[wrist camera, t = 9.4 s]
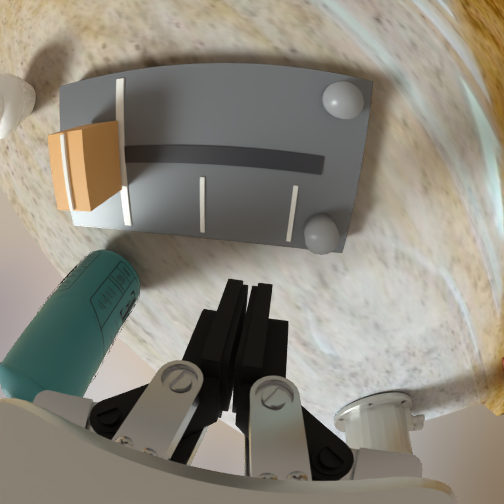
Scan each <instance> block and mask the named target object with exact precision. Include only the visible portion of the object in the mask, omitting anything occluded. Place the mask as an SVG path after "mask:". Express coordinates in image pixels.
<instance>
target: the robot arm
mask: <svg viewBox="0 0 504 504" xmlns="http://www.w3.org/2000/svg"><path fill="white" fill-rule="evenodd" d="M272 286H273V285H272V284H264V283H258V286H252V289H251V294H250V298H249V303H248V307H247V294H248V285H243V281H242V280H234V279H228V282H227V284H226V287H225V290H224V293H223V295H222V298H221V301H220V304H219V306H218V309H217V311H213V310H207V309H204V310H203V311H202V313H201V315H200V318H199V320H198V322H197V325H196V327H195V330H194V332H193V334H192V337H191V339H190V342H189V344H188V347H187V349H186V351H185V354H184V356H183V359H182V360H176V361H172V362H168V363H167V364H165V365H163V366H162V367H161V368H160V369H159V370H158V372H157V373H156V375H155V376H154V378H153V379H152V381H151V382H150V383H149V384H146V385H144V386H141V387H139V388H136V389H133V390H130V391H128V392H125V393H122V394H119V395H117V396H114V397H111V398H108V399H105V400H102V401H101V402H98V403H97V402H93V400H92V399H87V398H82V397H77V396H72V395H68V394H63V393H59V392H55V391H51V390H45V391H42V392H40V393H39V394H37V395H36V397H35V399H34V401H33V403H31V402H28V401H25V400H21V399H16V398H0V504H459V502H458V499H457V496H456V495H455V493H454V491H453V490H452V489H451V487H449V486H448V485H446V484H444V483H442V482H439V481H436V480H432V479H428V478H422V463H421V462H420V460H419V458H417V457H416V456H415V455H413V453H412V447H411V441H410V436H409V431H415V430H420V429H422V428H423V422H424V420H425V416H424V415H423V414H421V415H416V416H413V415H411V410H412V408H413V402H412V398H411V397H410V396H409V395H407V394H404V393H397V392H392V393H383V394H377V395H373V396H369V397H366V398H363V399H360V400H358V401H355V402H353V403H351V404H349V405H347V406H346V407H344V408H343V409H341V410H340V411H339V412H338V413H337V414H336V416H335V418H334V425H335V427H336V428H337V429H338V430H340V431H342V432H345V435H346V443H344V442H343V441H342V440H341V439H340V438H338V437H337V436H336V435H335V434H334V433H332V432H331V431H330V430H329V429H328V428H327V427H325V426H324V425H323V424H322V423H321V422H320V421H319V420H317V419H316V418H315V417H314V416H313V415H312V414H311V413H309V412H308V411H307V410H306V409H305V408H304V407H303V406H302V405H301V401H300V395H299V392H298V389H297V387H296V386H295V385H294V383H293V382H291V381H290V380H288V379H286V363H287V344H288V321H284V320H276V319H269V311H270V303H271V294H272ZM246 307H247V312H246ZM232 391H233V409H232V412H234V413H236V424H235V425H236V426H237V427H238V428H239V429H240V430H241V431H242V433H243V434H244V475H245V476H239V475H232V474H226V473H220V472H216V471H211V470H206V469H201V468H197V467H192V466H190V464H191V463H192V461H193V459H194V456H195V454H196V452H197V450H198V448H199V446H200V444H201V442H202V439H203V437H204V435H205V433H206V431H207V428H208V426H209V425H211V424H213V423H214V422H216V421H217V419H218V418H221V415H222V411H228V409H229V405H230V400H231V396H232Z"/></svg>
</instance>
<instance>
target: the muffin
mask: <svg viewBox="0 0 504 504" xmlns="http://www.w3.org/2000/svg"><path fill="white" fill-rule="evenodd" d="M35 99H36V95H35V90H34V88H33V87H32V86H31V85H30V84H28V83H27V82H26V81H24V80H23V79H21V78H20V77H18V76H15V75H12V74H9V73H6V74H2V75H0V139H3V138H5V137H7V136H8V135H9V134H10V133H11V132H13V131H14V130H16V129H17V128H18V126H19V125H20V124H21V123H22V122H23V121H24V120H25V119H26V118H27V117H28V116H29V115H30V114H31V112H32V111H33V109H34V105H35V102H36V100H35Z"/></svg>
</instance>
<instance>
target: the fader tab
mask: <svg viewBox="0 0 504 504" xmlns="http://www.w3.org/2000/svg"><path fill="white" fill-rule="evenodd" d="M48 144H49V155H50V163H51V171H52V178H53V185H54V191H55V197H56V202H57V207H58V210H70V211H88V212H91V211H92V210H94V209H95V208H97V207H98V206H99V205H101V204H102V203H103V202H105V201H106V200H108V199H109V198H110V197H112V196H113V195H115V194H116V193H118V192H119V191H121V190H122V184H121V173H120V160H119V142H118V121H110V122H101V123H93V124H86V125H82V126H78V127H74V128H71V129H67V130H64V131H60V132H57V133H54V134H50V135H48Z"/></svg>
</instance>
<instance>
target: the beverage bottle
mask: <svg viewBox="0 0 504 504" xmlns="http://www.w3.org/2000/svg"><path fill="white" fill-rule="evenodd" d="M90 253H91V252H90ZM88 254H89V253H88ZM77 265H78V264H77ZM77 265H76V266H75V267H74V269H75V268H76V269H75V270H74V269H73V270H72V271H71V272H72V273H71V272H70V273H71V274H70V273H69V274H70V275H69V274H68V275H67V276H66V277H65V279H66V278H67V279H66V280H65V279H63V281H64V280H65V281H64V282H63V281H62V282H63V283H62V282H61V283H62V284H61V283H60V284H61V285H60V286H59V288H58V289H57V290H56V291H55V292H54V293H53V294H52V296H51V297H50V298H49V299H48V300H47V302H46V303H45V304H44V305H43V307H42V308H41V310H40V311H39V312H38V314H37V315H36V316H35V317H34V319H33V320H32V321H31V322H30V324H29V325H28V326H27V328H26V329H25V330H24V332H23V333H22V334H21V336H20V337H19V339H18V340H17V341H16V343H15V344H14V346H13V347H12V348H11V350H10V351H9V353H8V354H7V355H6V357H5V358H4V360H3V361H2V362H1V363H0V384H1V388H2V391H3V392H4V394H5V395H6V396H7V397H8V398H16V399H21V400H25V401H28V402H31V403H33V401H34V399H35V397H36V395H37V394H39V393H40V392H42V391H45V390H51V391H55V392H59V393H63V394H68V395H72V396H77V397H82V398H83V396H84V394H85V392H86V390H87V388H88V386H89V384H90V383H91V380H92V378H93V376H94V375H95V373H96V372H97V370H98V368H99V366H100V364H101V362H102V360H103V359H104V357H105V355H106V353H107V351H108V349H109V347H110V345H111V344H112V343H113V341H114V338H115V336H116V335H118V334H117V333H118V331H119V329H120V328H121V326H122V325H123V323H124V322H125V320H126V319H127V317H128V315H129V314H130V313H131V312H132V311H131V310H132V307H135V305H134V304H135V302H136V300H137V298H138V296H140V295H139V294H140V281H139V278H138V275H137V273H136V271H135V270H134V268H133V267H132V265H131V264H130V263H129V262H128V261H127V260H126V259H125V258H123V257H122V256H121V255H119V254H117V253H115V252H113V251H110V250H98V251H94V252H93V253H91V254H89V255H88V256H86V258H85V259H84V260H82V262H81V263H80V264H79V265H78V267H77ZM138 300H139V299H138ZM133 305H134V306H133ZM130 311H131V312H130ZM129 312H130V313H129ZM129 316H130V315H129ZM126 321H127V320H126ZM125 323H126V322H125ZM121 330H122V329H121ZM120 332H121V331H120ZM95 377H96V376H95Z"/></svg>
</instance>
